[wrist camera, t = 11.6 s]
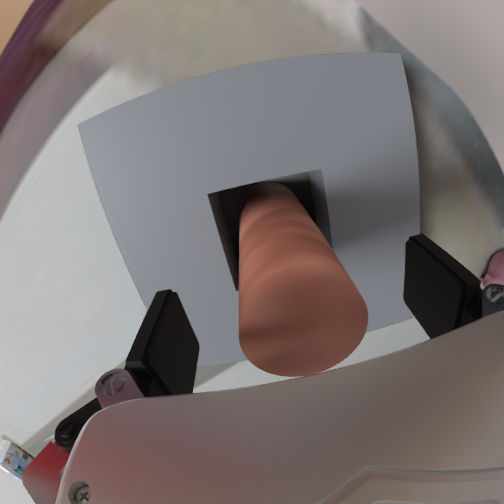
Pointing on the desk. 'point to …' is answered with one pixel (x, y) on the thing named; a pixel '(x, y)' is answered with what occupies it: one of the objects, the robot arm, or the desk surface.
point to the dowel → (292, 289)
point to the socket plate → (260, 178)
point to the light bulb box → (13, 459)
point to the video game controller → (494, 271)
